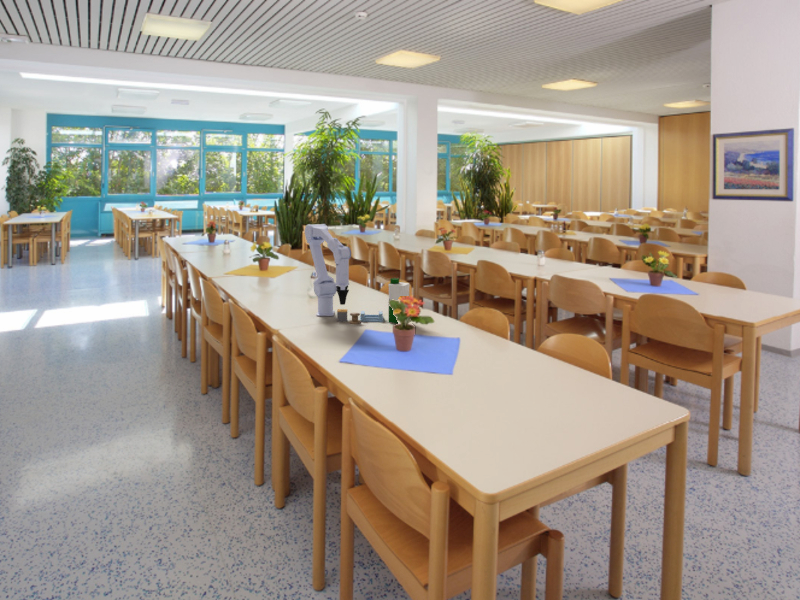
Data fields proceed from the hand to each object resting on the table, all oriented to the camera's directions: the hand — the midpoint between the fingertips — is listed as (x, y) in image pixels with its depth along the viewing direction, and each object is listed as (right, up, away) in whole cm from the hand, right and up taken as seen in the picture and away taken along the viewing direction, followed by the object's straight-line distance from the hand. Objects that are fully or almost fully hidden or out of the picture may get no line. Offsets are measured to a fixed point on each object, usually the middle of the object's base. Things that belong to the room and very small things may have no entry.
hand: (342, 302), depth 260 cm
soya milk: (+26, -9, +2) cm, 27 cm away
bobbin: (+6, -9, -2) cm, 11 cm away
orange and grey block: (0, -8, +2) cm, 9 cm away
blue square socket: (+13, -8, +5) cm, 16 cm away
